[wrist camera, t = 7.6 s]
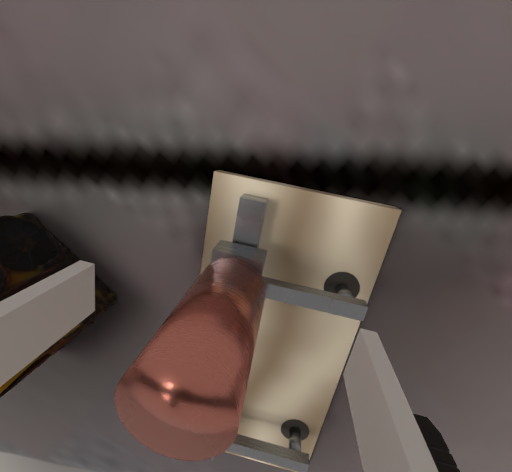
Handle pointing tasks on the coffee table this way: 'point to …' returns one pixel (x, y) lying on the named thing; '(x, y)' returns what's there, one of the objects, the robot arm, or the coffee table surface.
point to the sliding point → (210, 355)
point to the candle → (38, 275)
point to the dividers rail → (292, 457)
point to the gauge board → (296, 317)
